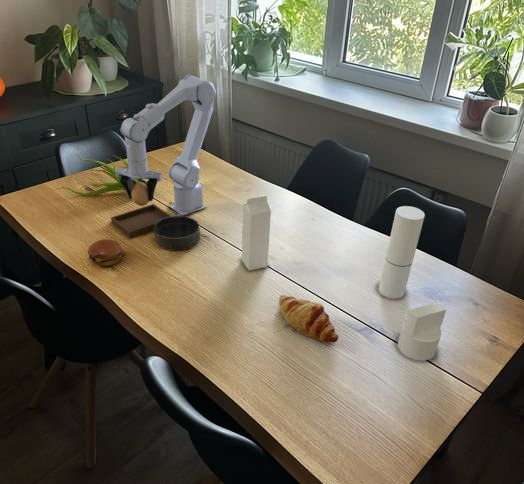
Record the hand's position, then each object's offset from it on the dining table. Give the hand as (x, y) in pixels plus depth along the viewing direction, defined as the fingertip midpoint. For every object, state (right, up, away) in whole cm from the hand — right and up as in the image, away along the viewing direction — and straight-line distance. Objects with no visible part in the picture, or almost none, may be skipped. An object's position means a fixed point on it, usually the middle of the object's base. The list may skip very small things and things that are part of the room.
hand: (141, 198), depth 160 cm
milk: (+37, -21, -11) cm, 44 cm away
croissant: (+50, -37, -32) cm, 70 cm away
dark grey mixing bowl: (+12, -13, -2) cm, 18 cm away
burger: (-7, -20, -12) cm, 24 cm away
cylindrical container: (+75, -29, -19) cm, 83 cm away
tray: (-1, -7, +6) cm, 9 cm away
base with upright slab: (+77, -42, -38) cm, 95 cm away
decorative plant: (-19, +5, +21) cm, 29 cm away
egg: (0, -2, +1) cm, 2 cm away
